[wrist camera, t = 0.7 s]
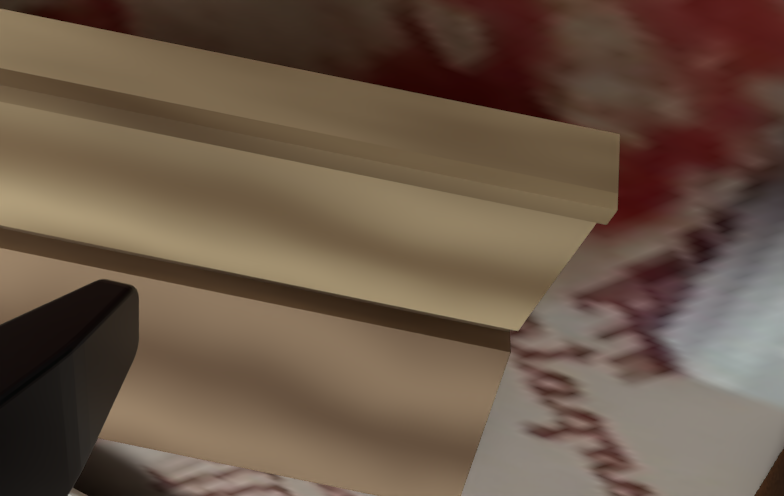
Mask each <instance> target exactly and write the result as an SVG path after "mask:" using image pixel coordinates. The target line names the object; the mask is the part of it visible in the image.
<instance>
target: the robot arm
mask: <svg viewBox="0 0 784 496" xmlns="http://www.w3.org/2000/svg"><path fill="white" fill-rule="evenodd" d="M138 344H139V294H138V291H137V289H136V288H135V287H134V286H133V285H130V284H126V283H121V282H117V281H113V280H108V279H100V280H97V281H94V282H92V283H90V284H87V285H85V286H83V287H81V288H79V289H76V290H74V291H72V292H70V293H68V294H66V295H63V296H61V297H59V298H57V299H55V300H52V301H50V302H48V303H46V304H44V305H42V306H39V307H37V308H35V309H33V310H31V311H28V312H26V313H24V314H22V315H20V316H18V317H15V318H13V319H11V320H9V321H7V322H4V323H2V324H0V496H68V495H69V493H70V491H71V490H72V488H73V486H74V484H75V483H76V481H77V479H78V477H79V476H80V474H81V472H82V470H83V468H84V466H85V464H86V462H87V460H88V458H89V456H90V454H91V452H92V449H93V447H94V445H95V443H96V441H97V439H98V436H99V434H100V432H101V430H102V428H103V426H104V423H105V421H106V419H107V417H108V415H109V413H110V410H111V408H112V406H113V404H114V402H115V400H116V397H117V395H118V393H119V391H120V389H121V387H122V384H123V382H124V380H125V378H126V376H127V374H128V371H129V369H130V367H131V365H132V363H133V360H134V358H135V355H136V352H137V349H138Z"/></svg>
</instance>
